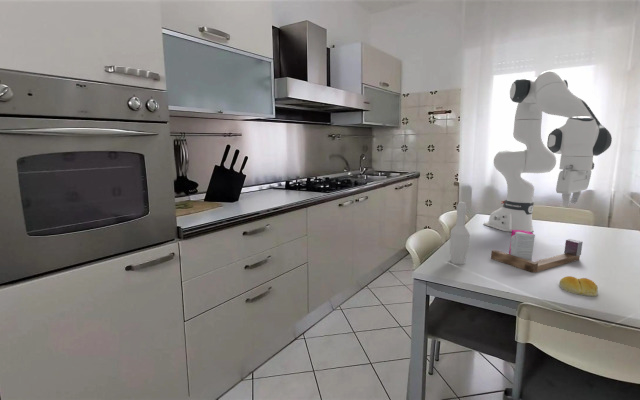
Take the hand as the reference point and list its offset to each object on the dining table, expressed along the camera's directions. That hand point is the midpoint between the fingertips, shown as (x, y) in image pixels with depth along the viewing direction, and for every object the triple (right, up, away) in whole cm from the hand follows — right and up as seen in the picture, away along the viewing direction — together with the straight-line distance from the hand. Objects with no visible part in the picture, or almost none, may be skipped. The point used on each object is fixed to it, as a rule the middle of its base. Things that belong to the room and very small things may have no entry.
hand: (570, 204), depth 118 cm
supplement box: (-16, -21, +3) cm, 27 cm away
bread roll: (-12, -25, -19) cm, 34 cm away
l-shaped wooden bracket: (-8, -20, +6) cm, 23 cm away
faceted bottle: (-38, -21, +3) cm, 44 cm away
